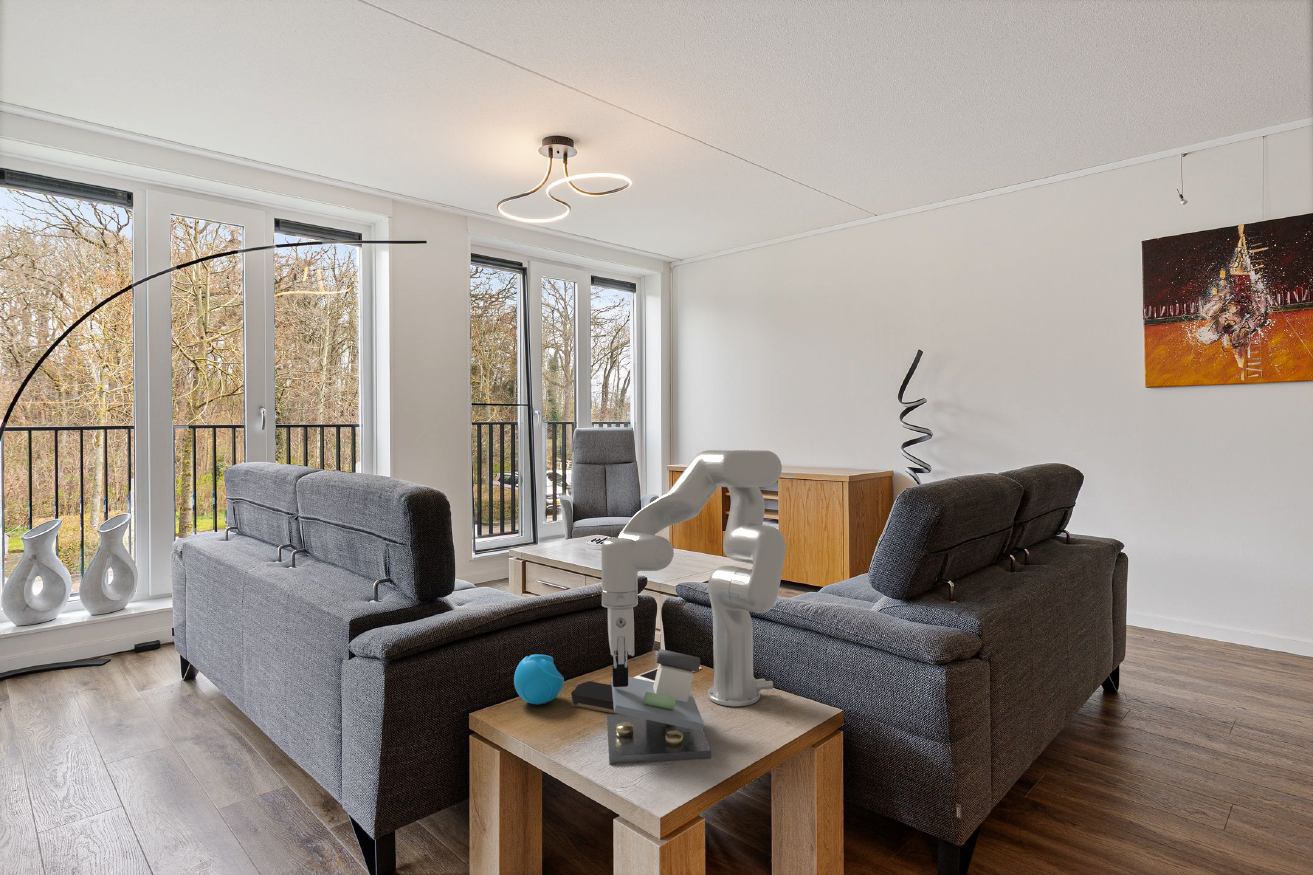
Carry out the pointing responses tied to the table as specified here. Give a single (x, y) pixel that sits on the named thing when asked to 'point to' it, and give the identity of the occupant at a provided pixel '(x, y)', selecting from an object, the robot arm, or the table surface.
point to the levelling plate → (652, 713)
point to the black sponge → (593, 696)
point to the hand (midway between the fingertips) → (620, 685)
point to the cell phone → (650, 675)
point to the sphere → (537, 679)
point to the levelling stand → (652, 741)
